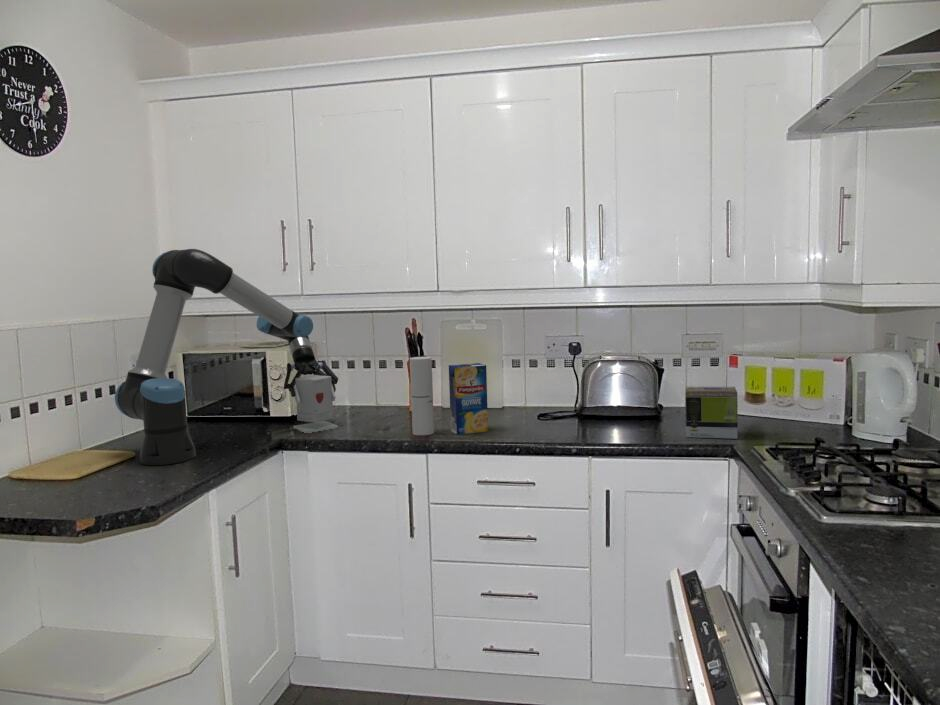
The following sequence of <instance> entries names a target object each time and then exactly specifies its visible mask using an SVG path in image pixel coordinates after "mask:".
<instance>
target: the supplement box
mask: <svg viewBox="0 0 940 705" xmlns="http://www.w3.org/2000/svg"><path fill="white" fill-rule="evenodd" d="M295 381H296V384H295V386H296V387H297V391H298V394H299V398H300V404H299V406H297V405H296V418H297V419H296V420H297V421H298V422H299V421H301V422H306V423H307V422H308V423H316V422H321V421H328V420H331V419H333V418H334V411H333V409H334V408H333V406H334V405H333V402H332V382H331V376H320V375H314V374H311V375H305V376H300V378H296V379H295Z"/></svg>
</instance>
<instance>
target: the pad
mask: <svg viewBox="0 0 940 705" xmlns="http://www.w3.org/2000/svg"><path fill="white" fill-rule="evenodd" d="M293 428H294V429H293ZM335 428H339V425H338V424H335V423H332V422H329V421H328V420H324V421H320V422H316V423H313V422H308V423H304V424H298V425H297V424H296V425H293V426H292V429H293V430H295V429H297V430H299V431H298V432H300V431H301V432H300V433H302V432H304V433H303V434H305V433H309V434H313V433H312V432H315V433H319V432H318V431H321V432H324V431H323V430H327V431H330V430H329V429H333V430H336V429H335ZM297 430H296V431H297Z"/></svg>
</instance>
